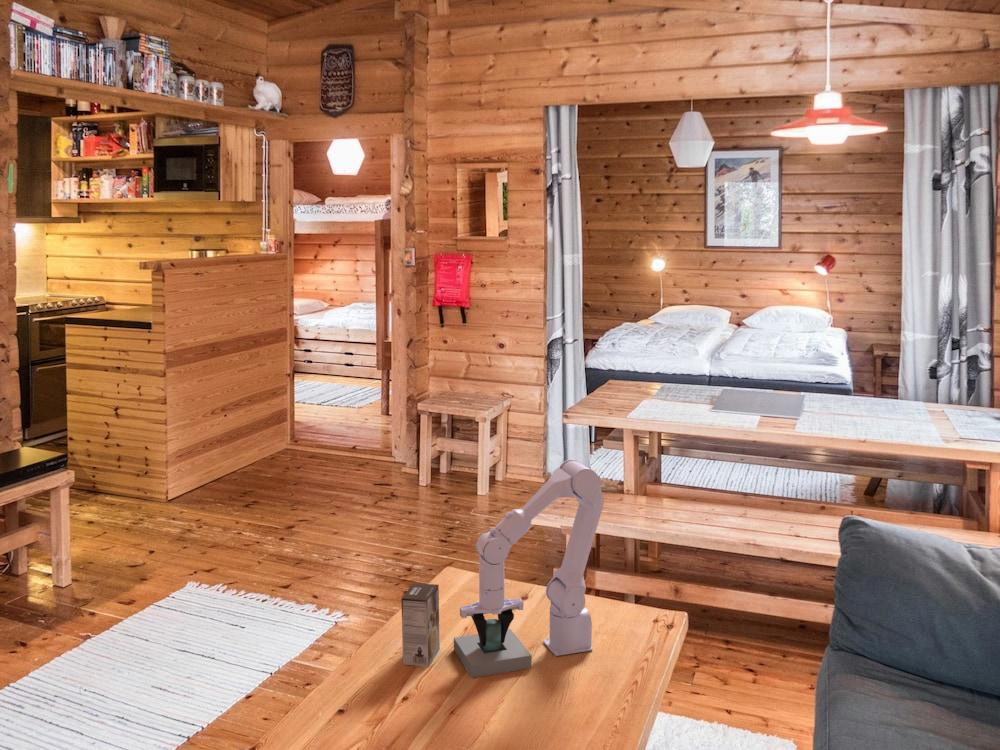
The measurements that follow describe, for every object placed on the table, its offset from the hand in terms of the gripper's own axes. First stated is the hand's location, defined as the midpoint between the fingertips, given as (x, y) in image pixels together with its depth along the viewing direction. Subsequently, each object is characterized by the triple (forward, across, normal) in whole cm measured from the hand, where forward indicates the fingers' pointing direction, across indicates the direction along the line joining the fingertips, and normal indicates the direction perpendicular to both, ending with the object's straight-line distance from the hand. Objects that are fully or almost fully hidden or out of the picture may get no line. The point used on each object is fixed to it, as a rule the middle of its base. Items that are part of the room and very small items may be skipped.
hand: (491, 642), depth 208 cm
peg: (+2, 0, 0) cm, 2 cm away
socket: (+4, 0, 0) cm, 4 cm away
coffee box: (+4, -15, +6) cm, 17 cm away
